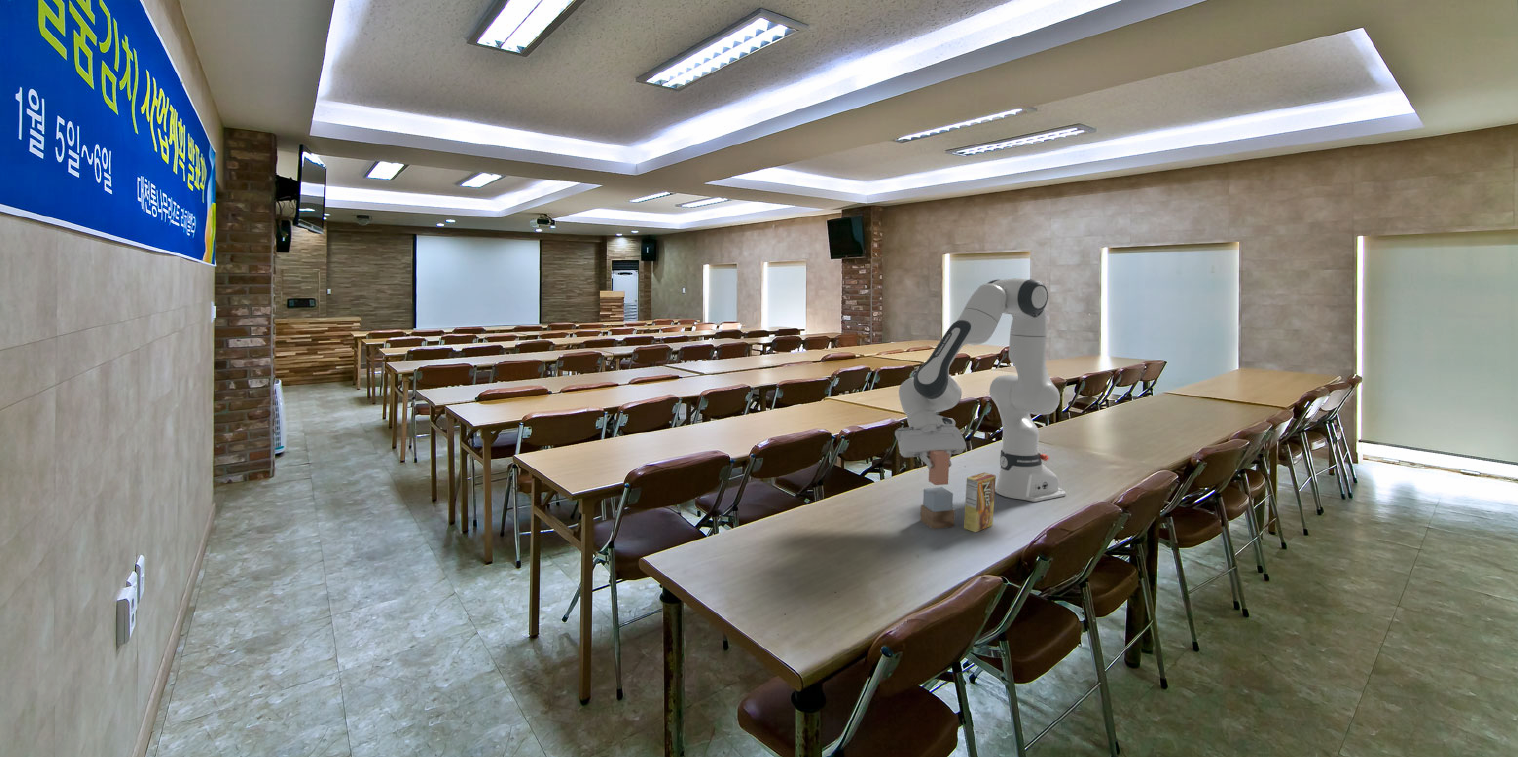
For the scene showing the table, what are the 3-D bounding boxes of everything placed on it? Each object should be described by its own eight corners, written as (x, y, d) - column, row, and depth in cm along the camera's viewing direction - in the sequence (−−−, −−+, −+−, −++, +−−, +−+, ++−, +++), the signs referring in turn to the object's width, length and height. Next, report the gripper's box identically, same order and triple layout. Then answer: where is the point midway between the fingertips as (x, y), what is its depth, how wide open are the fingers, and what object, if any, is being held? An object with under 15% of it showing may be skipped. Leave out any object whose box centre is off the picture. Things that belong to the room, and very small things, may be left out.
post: (940, 480, 200) (942, 450, 199) (947, 484, 196) (949, 453, 195) (928, 481, 199) (930, 451, 198) (935, 485, 195) (937, 454, 194)
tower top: (941, 503, 202) (941, 487, 202) (952, 510, 197) (952, 493, 196) (923, 505, 201) (923, 488, 200) (933, 512, 195) (934, 495, 194)
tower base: (941, 518, 204) (942, 502, 203) (953, 527, 197) (954, 510, 196) (920, 520, 202) (921, 504, 201) (932, 529, 195) (932, 512, 194)
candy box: (980, 521, 201) (983, 471, 198) (993, 525, 197) (996, 474, 195) (963, 528, 195) (965, 477, 193) (976, 533, 192) (978, 480, 190)
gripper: (897, 422, 199) (911, 463, 191) (959, 419, 204) (975, 459, 196) (889, 434, 204) (903, 474, 196) (950, 430, 209) (966, 470, 201)
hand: (940, 466), depth 196 cm, fingers closed on post, 4 cm apart
